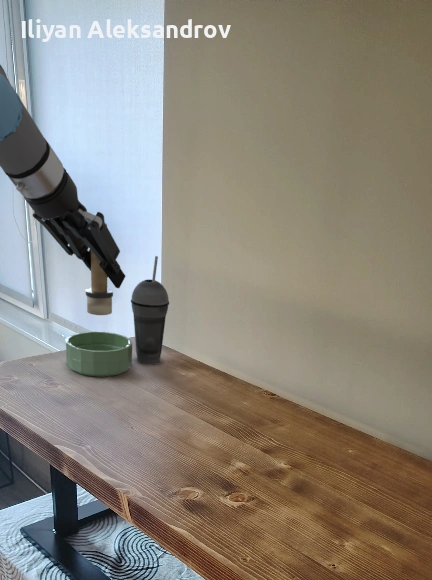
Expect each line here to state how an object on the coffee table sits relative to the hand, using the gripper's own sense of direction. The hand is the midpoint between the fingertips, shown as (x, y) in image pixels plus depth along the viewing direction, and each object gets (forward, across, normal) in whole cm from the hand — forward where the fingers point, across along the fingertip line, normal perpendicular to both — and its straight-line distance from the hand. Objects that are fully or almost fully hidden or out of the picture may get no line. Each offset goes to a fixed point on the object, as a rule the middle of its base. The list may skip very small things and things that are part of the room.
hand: (112, 280), depth 114 cm
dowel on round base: (+1, 0, -6) cm, 6 cm away
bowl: (+8, 0, -14) cm, 16 cm away
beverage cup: (+15, +4, -7) cm, 17 cm away
